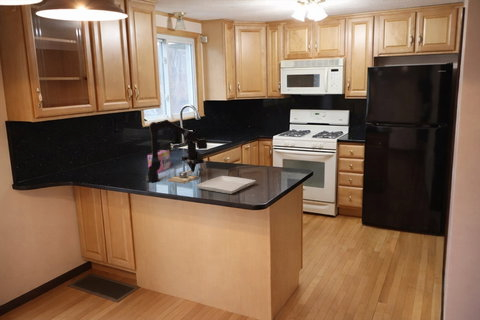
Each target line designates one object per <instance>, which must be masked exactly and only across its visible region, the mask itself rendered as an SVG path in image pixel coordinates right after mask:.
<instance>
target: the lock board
mask: <svg viewBox="0 0 480 320" xmlns="http://www.w3.org/2000/svg"><path fill="white" fill-rule="evenodd" d="M198 179H199V176H197V175H191V174H187V178H179V175H176V176H173V177H170V178H168V179H167V181H168V182H170V183H171V182H172V183H177V184H186V183H189V182H190V183H191V182H192V181H194V180H198Z"/></svg>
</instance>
